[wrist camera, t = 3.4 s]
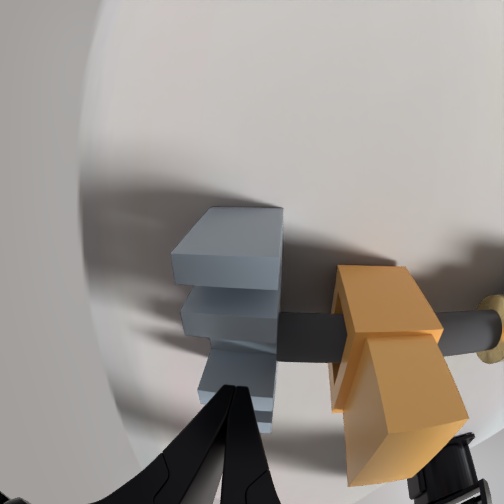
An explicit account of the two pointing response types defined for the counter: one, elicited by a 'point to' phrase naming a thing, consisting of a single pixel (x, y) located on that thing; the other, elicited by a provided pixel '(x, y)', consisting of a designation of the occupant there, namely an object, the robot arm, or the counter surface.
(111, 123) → the counter surface
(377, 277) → the sleeve
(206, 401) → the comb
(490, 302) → the band
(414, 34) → the counter surface
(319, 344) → the black rod
